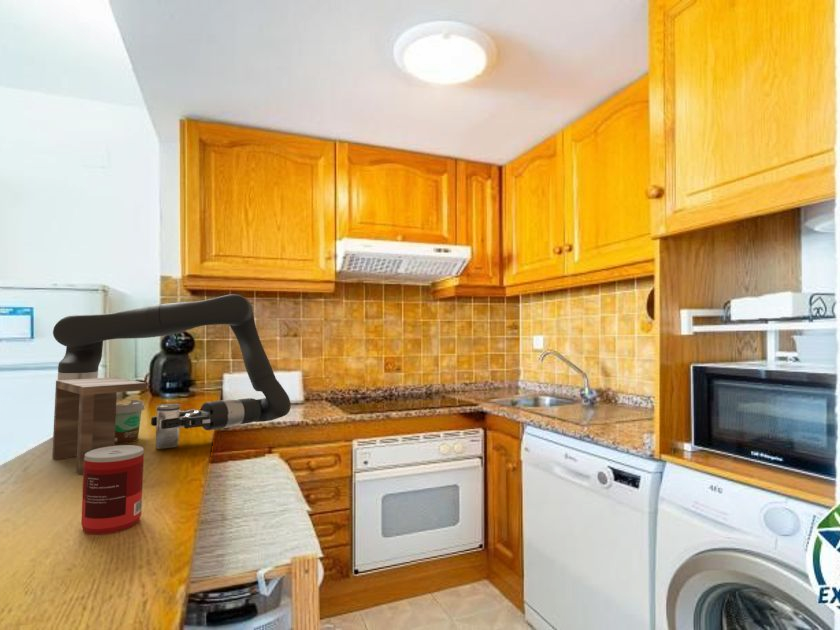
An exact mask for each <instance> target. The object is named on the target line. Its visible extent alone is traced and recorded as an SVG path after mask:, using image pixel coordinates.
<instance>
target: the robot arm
mask: <svg viewBox="0 0 840 630" xmlns="http://www.w3.org/2000/svg"><path fill="white" fill-rule="evenodd" d="M215 325H228V326H229V327H230V328H231V330H232V332H233V334H234V335H235V338H236V340H237V342H238V343H237V344H238V346H239V348H240V352H241V356H242V360H243V363H244V367H245V370H246V373H247V375H248V378H249V381H250V383H251V386H252V388H253V390H254V391H255V392H261V393H262V394H263V395H264V398H259V399H255V398H251V397H250V398H240V399H238V398H237V399H224V400H223V399H221V400H214V401H206V402H204V403H203V404H202V405H201V407H200V409H199V410H197V408H196V409H195V408H193V409H189V410H187V409H183V410H180V412H179V419H178V418H171V419H163V420H162V421H161V428H162V429H168V428H174V427H179V429H182V428H184V429H191V428H201V427H202V429H203V430H204V431H205V430H206V431H213V430H220V429H225V428H226V429H227V428H232V427H235V426H239V425H245V424H251V423H262V422H263V423H264V422H269V421H270V422H271V421H274V420H277V419H279V418H284V417H286V415H288V414H289V412H290V410H291V408H292V407H291V406H292V405H291V399H290V396H289V394H288V393H287V392H286V390H285V389H284V387H283V386H282V384H281V383H280V382H279V381H278V380H277V378H276V376H275V372H274V371H273V368H272V365H271V363H270V360H269V358H268V356H267V353H266V351H265V349H264V346H263V344H262V342H261V339H260V336H259V333H258V329H257V326H256V321H255V316H254V310H253V305H252V303H251V302H250V301H249V300H248V299H247V298H246V297H244V296H242V295H240V294H236V293H235V294H234V293H232V294H231V293H230V294H226V295H222V296H218V297H214V298H208V299H204V300H198V301H181V302H172V303H171V302H169V303H159V304H151V305H146V306H139V307H135V308H128V309H125V310H119V311H116V312H115V311H114V312H111V313H102V314H101V313H99V314H72V315H66V316H64V317H63V318H61V319H60V320H58V321H57V322H56V324H55V325H54V327H53V330H52V335H53V338H54V339H55V341H56V342H58V343H59V344H60V345H62V346H64V347H66V348H65V354H64V356H63V358H62V359H61V360H60V361H59V362H58V365H57V367H58V368H57V372H58V373H57V380H75V379H93V378H99V366H100V364H101V361H102V358H103V346H104V341H109V340H118V339H119V340H121V339H125V340H126V339H127V340H128V339H129V340H130V339H148V338H157V337H164V336H171V335H175V334H179V333H180V334H181V333H184V332H186V331H190V330H192V329H195V328H199V327H204V326H215ZM150 420H151V421H150V425H151V426H153V427H156V422H157V415H156V416H152V417H151V419H150Z"/></svg>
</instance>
